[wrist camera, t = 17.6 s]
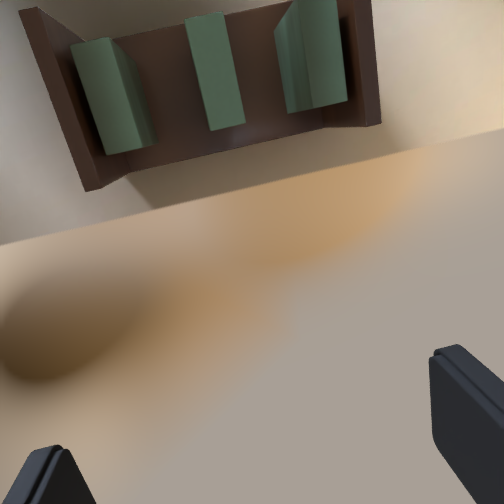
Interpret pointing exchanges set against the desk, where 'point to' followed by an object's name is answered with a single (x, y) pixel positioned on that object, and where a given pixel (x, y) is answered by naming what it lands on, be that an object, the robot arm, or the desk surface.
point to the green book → (215, 70)
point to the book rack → (188, 91)
